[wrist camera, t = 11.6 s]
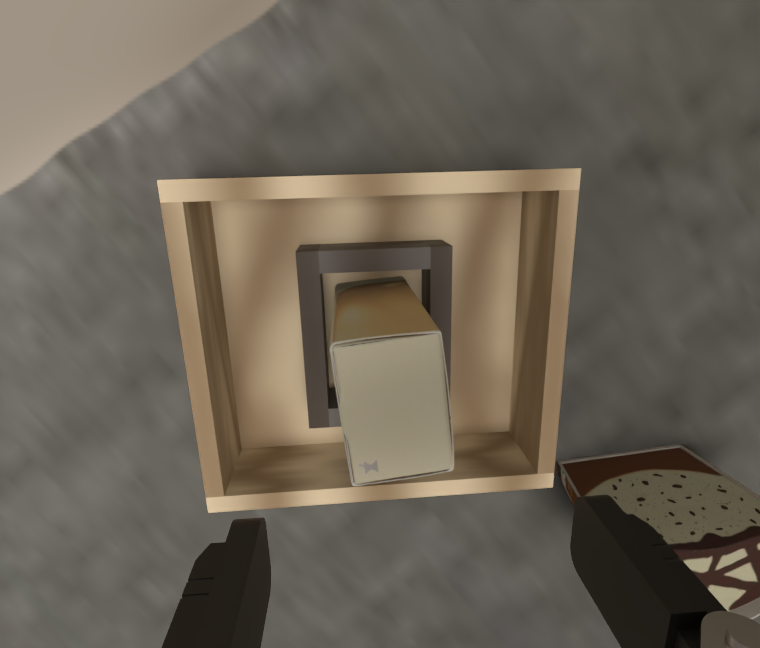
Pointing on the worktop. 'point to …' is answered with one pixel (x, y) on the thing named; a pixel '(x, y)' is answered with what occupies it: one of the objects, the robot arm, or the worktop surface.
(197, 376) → the walled box
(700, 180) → the worktop surface
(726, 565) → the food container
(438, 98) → the worktop surface
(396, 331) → the skincare box
